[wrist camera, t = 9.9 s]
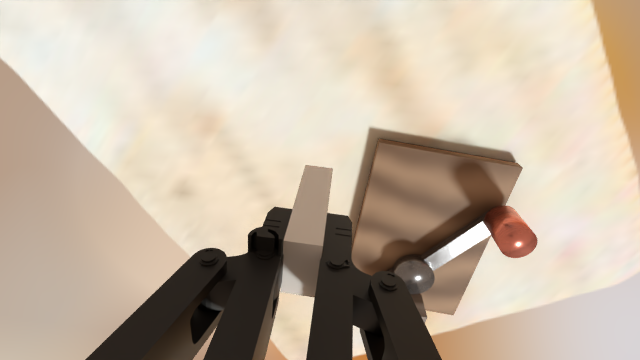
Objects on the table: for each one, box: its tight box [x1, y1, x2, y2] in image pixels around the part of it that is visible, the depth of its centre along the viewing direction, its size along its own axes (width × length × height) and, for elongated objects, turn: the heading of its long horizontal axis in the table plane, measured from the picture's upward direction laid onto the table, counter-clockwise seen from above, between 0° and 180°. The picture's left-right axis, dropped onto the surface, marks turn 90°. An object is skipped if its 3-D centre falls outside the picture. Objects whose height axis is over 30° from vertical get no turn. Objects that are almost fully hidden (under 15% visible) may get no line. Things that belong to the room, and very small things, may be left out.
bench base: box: [352, 139, 522, 324], centre depth 45 cm, size 26×18×10 cm
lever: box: [387, 205, 537, 294], centre depth 45 cm, size 20×6×7 cm, turn 136°
